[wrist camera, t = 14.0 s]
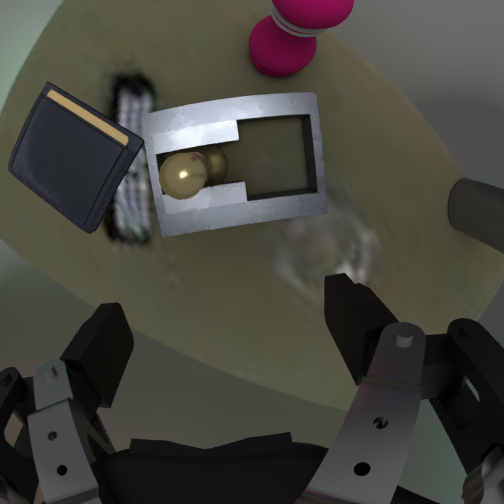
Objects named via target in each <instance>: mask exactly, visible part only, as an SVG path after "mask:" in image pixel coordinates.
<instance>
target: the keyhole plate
mask: <svg viewBox="0 0 504 504" xmlns="http://www.w3.org/2000/svg"><path fill="white" fill-rule="evenodd" d="M297 117H301V121H302V130H303V138H304V147H305V156H306V166H307V177H308V188H305V189H296V190H288V191H279V192H271V193H263V194H256V195H249V196H246V189H245V182H244V181H237V182H230V183H224V184H217V185H211V186H205V187H202V189H201V190H200V192H199V193H198V194H196V195H195V196H194V197H192V198H189V199H185V200H178V199H174V198H172V197H170V196H168V195H167V194H166V193H165V192H164V191H163V189H162V188H161V185H160V182H159V171H160V168H161V166H162V164H163V163H164V156H163V153H166V152H171V151H176V150H181V149H186V148H191V147H197V146H203V145H209V144H215V143H221V142H228V141H235V140H239V137H238V129H237V123H241V122H250V121H259V120H270V119H282V118H297ZM141 118H142V126H143V133H144V141H145V147H146V154H147V160H148V166H149V172H150V178H151V184H152V189H153V194H154V199H155V204H156V209H157V214H158V219H159V224H160V228H161V233H162V237H168V236H174V235H180V234H186V233H192V232H199V231H205V230H211V229H218V228H224V227H231V226H237V225H244V224H251V223H258V222H265V221H272V220H279V219H287V218H294V217H302V216H309V215H317V214H325V213H327V197H326V182H325V170H324V158H323V148H322V138H321V129H320V121H319V113H318V105H317V98H316V92H307V93H281V94H266V95H254V96H244V97H236V98H228V99H220V100H214V101H207V102H201V103H196V104H190V105H185V106H180V107H175V108H170V109H166V110H161V111H157V112H153V113H149V114H145V115H141Z"/></svg>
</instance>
